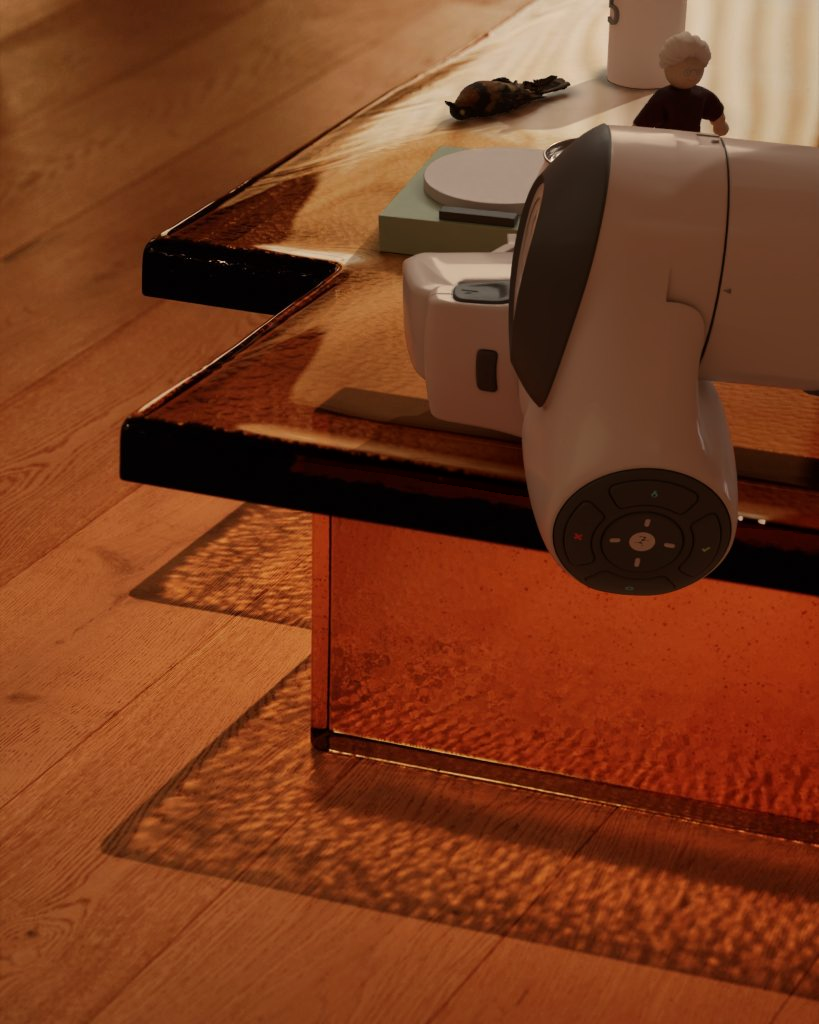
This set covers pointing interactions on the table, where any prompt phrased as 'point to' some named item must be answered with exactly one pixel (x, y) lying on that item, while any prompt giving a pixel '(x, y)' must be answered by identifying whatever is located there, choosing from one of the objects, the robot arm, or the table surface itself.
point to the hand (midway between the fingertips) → (590, 245)
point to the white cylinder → (641, 40)
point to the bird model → (501, 96)
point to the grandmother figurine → (683, 90)
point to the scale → (461, 201)
